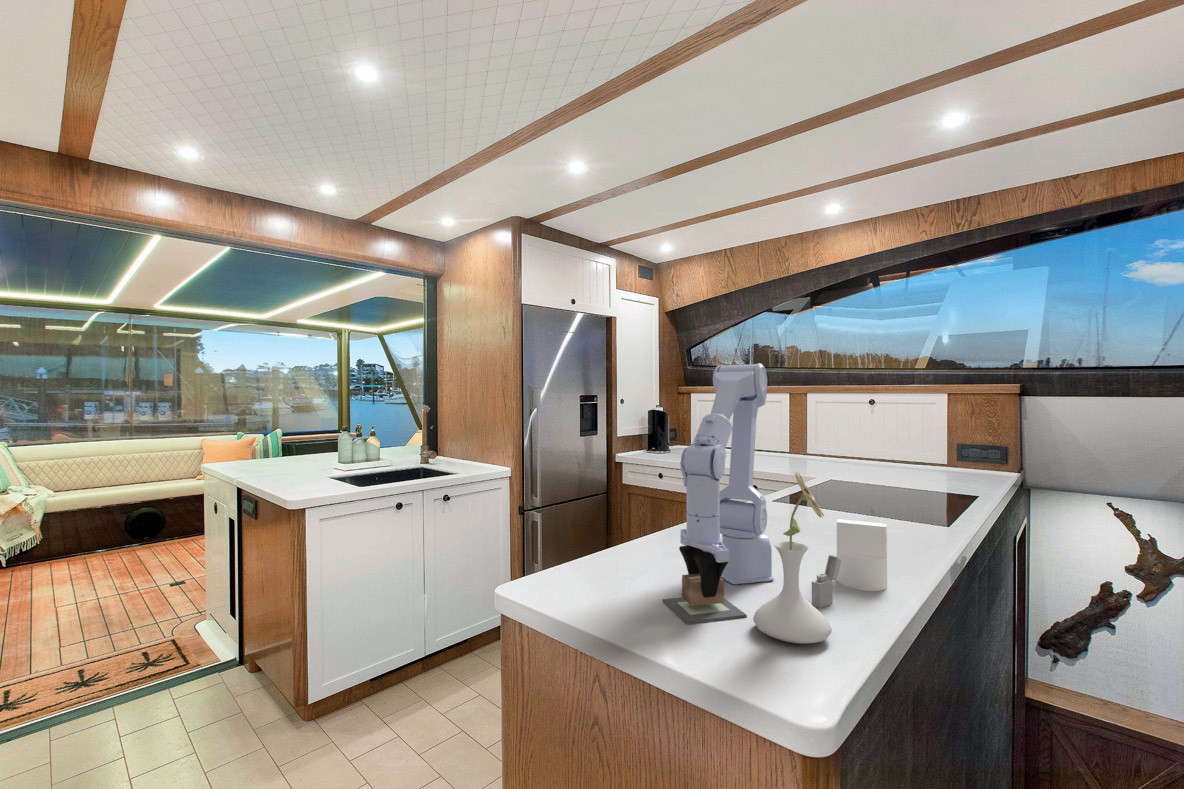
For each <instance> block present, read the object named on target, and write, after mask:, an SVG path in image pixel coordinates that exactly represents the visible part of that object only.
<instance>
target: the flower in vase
mask: <svg viewBox="0 0 1184 789" xmlns="http://www.w3.org/2000/svg"><path fill="white" fill-rule="evenodd" d="M794 476H795V480H796V481H797V484H798V486H799V487H800V490H801V491H802V492H801V495H800V497H799V499H798V501H797V503H796V504H795V506H794V509H793V511H792V513H791V517H790V520H789V522H790V523H789V529H788V530H787V531H785V532H784V533H783V535H784V536H787V537H789V541H787V540H786V541H783V540H782V541H777V542H774V544H773V545H774V547H775V549H776V550H777V552H778V553H779V556H780V559H781V564H782V569H783V570H782V572H783V585H782V590H781V591H780V592H779V594H778V595H777V596H775V597H774V598H772V599H770V600H769V601H767V602H766V603H764V604H762V605H761V606H760V607H758V609H756V611H755V612H754V615H753V619H752V620H753V622H754V625H755V626H756V628H757V629H758V630H759V631H760V632H761V633H763V634H765V635H766V636H769V637H770V638H771V637H772V638H774V639H777V640H778V641H782V642H787V643H791V644H801V645H802V644H805V645H806V644H815V643H819V642H823V641H825V640H826V639H827V638H828V637H829V636H830V635H831V633H832V627H831V624H830V622H829V620H828V619H827V618H826V616H824V615H823V613H822V612H820V611H819V610H818V609H817V607H814V606H812V603H810V602H809V601H808V600H807V599H806V598H805V597H804V596H803V594H802V592H801V589H800V588H801V587H800V568H801V564H802V560H803V557H804V555H805V553H807V551H808V550H809V546H808V545H806V544H804V543H801V542H795V541H793V536H794V535H796V534H799V533H800V532H801V529H800V527H799V525H798V523H797V520H796V519H795V518H794V517H795V514H796V511H797V509H798V507H799V505H800V504H801V502H802V501H804V502H805V501H806V502H808V503H809V504H808V505H810V507H811V509H812V510H813V512H814V513H815V514H816V516H818V517H819V518H820V519H821V518H824V517H825V514H824V512H823V511H822V508H821V507H820V506H819V504H818V503H817V502H816V498H815V497H814V496H813V494H812V492H811V490H810V489H809V487H808V485H807V483H806V481H804V479H803V476H802V475H801V473H800V472H797V471H796V472H795V473H794Z"/></svg>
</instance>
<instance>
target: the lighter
mask: <svg viewBox="0 0 1184 789" xmlns="http://www.w3.org/2000/svg"><path fill="white" fill-rule="evenodd" d="M840 564H841V559H840V558H838V557H837V555H836V556H835V555H831V554H829V555H828V558H827V562H826V566H825V571H824V573H819V574H816V579H813V580H811V605H812V606H814V607H815V608H816V609H817V608H818V609H820V610H821V609H823V608H825V607H827V606H830V605H833V581H834V582H836V581H837V577H838V572H839V568H840ZM837 582H838V581H837Z"/></svg>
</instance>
